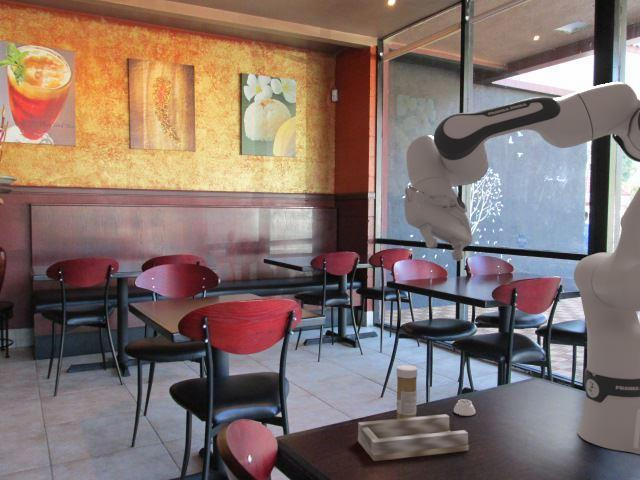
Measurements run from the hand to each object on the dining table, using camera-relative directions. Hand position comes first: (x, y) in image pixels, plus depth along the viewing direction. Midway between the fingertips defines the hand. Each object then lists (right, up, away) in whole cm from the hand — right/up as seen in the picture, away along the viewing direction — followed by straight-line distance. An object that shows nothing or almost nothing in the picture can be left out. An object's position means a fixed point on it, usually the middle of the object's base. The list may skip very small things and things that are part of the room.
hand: (445, 253), depth 119 cm
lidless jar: (+8, -39, +15) cm, 42 cm away
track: (-8, -39, -5) cm, 40 cm away
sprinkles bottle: (-7, -39, +6) cm, 40 cm away
